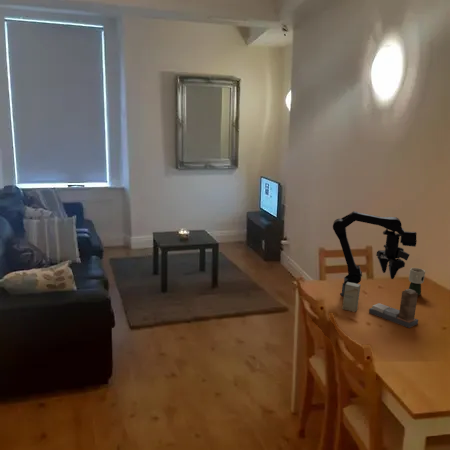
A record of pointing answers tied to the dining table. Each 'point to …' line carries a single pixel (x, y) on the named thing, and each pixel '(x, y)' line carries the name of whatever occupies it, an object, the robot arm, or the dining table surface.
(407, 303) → the walnut stylus post
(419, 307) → the dining table surface
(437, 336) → the dining table surface
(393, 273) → the robot arm
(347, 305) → the skincare box
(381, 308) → the key pad
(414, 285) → the character mug
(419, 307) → the dining table surface
